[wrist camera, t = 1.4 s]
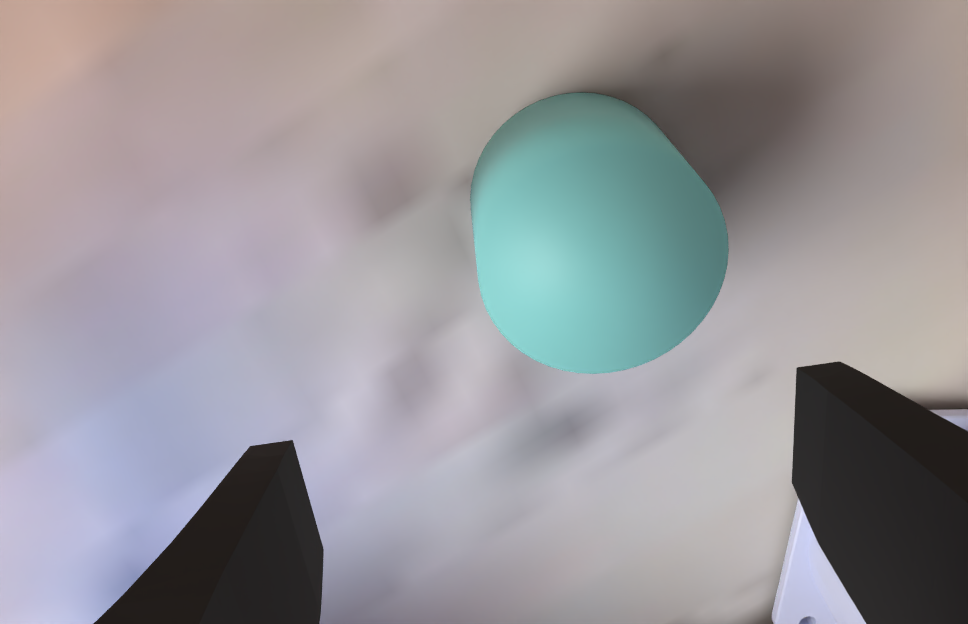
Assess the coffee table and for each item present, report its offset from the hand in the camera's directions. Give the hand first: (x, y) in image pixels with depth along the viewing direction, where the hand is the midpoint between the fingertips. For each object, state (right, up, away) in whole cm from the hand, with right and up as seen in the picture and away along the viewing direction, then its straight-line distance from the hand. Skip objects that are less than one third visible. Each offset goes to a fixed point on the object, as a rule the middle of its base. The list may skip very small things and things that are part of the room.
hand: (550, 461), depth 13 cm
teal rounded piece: (+1, +5, +8) cm, 10 cm away
